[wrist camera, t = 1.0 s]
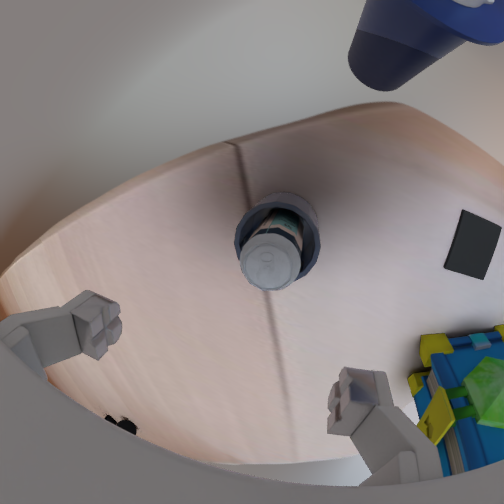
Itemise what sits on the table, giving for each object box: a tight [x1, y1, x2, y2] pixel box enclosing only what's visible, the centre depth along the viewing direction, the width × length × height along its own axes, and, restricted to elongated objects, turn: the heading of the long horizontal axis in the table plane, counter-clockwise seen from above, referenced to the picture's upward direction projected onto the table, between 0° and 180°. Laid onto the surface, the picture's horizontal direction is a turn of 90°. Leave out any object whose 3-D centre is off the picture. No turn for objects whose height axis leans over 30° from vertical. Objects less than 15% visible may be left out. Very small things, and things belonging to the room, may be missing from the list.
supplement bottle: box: [240, 208, 304, 291], centre depth 26 cm, size 5×5×12 cm
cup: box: [234, 192, 321, 281], centre depth 28 cm, size 8×8×7 cm
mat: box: [444, 210, 502, 280], centre depth 26 cm, size 8×8×1 cm
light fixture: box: [105, 415, 136, 435], centre depth 58 cm, size 6×11×13 cm
